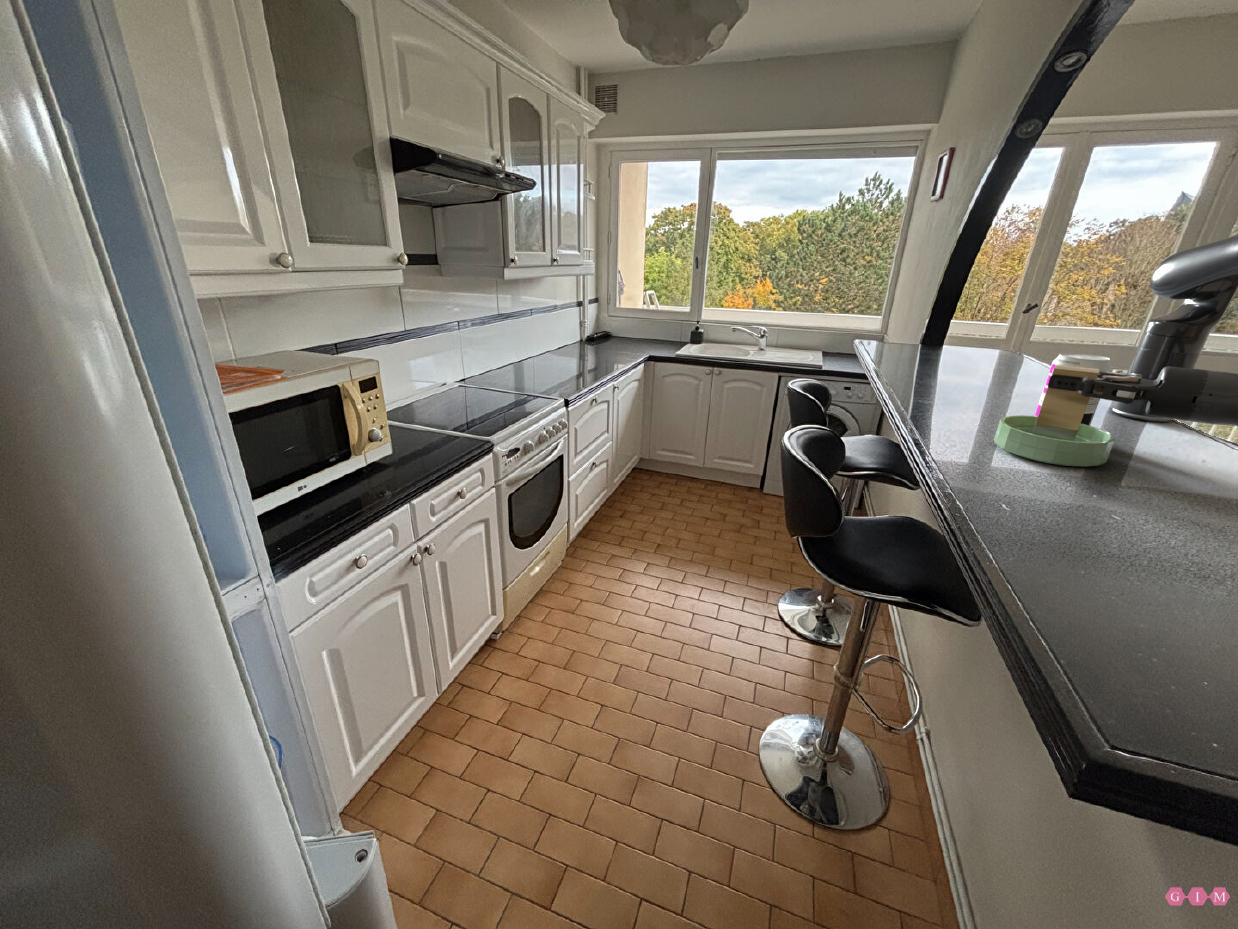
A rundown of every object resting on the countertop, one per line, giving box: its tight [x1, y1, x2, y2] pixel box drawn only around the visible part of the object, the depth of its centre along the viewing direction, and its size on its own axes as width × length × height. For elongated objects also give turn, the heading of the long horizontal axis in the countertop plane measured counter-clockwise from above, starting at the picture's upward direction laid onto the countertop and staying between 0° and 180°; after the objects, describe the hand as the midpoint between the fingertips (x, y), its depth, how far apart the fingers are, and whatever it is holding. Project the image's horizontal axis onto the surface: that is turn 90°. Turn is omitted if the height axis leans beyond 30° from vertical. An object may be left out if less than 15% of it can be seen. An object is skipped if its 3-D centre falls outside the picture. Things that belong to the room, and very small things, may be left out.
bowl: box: [993, 414, 1116, 467], centre depth 87 cm, size 15×15×4 cm
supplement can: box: [1034, 352, 1113, 426], centre depth 94 cm, size 8×8×15 cm
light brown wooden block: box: [1033, 365, 1099, 440], centre depth 84 cm, size 4×6×11 cm
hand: (1051, 378), depth 84 cm, fingers closed on light brown wooden block, 4 cm apart
